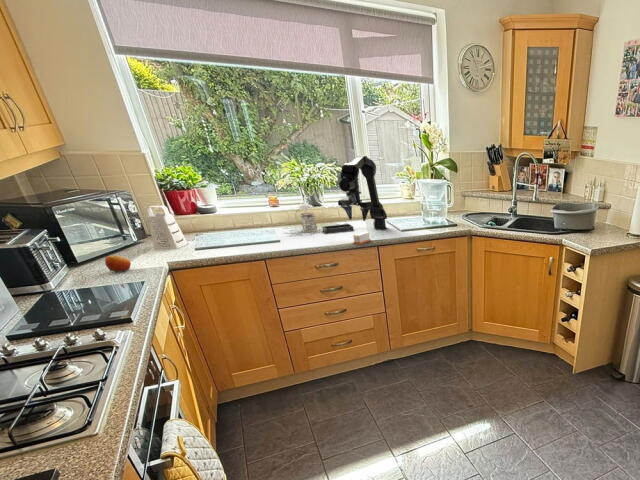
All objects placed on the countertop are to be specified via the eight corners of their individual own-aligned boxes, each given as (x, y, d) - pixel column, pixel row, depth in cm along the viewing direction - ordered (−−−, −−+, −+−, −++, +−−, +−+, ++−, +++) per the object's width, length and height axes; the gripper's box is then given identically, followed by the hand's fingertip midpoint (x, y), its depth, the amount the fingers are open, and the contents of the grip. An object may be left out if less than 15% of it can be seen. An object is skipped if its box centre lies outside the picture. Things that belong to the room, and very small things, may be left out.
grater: (177, 248, 211) (162, 208, 201) (154, 249, 209) (137, 208, 199) (187, 243, 220) (173, 204, 210) (166, 243, 218) (150, 204, 208)
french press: (321, 230, 251) (312, 187, 239) (300, 233, 245) (290, 188, 233) (317, 227, 258) (308, 185, 246) (297, 229, 253) (287, 186, 240)
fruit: (98, 270, 174) (102, 252, 175) (120, 274, 182) (124, 257, 182) (110, 272, 172) (114, 254, 172) (132, 277, 180) (136, 259, 180)
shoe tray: (349, 227, 260) (349, 223, 259) (353, 230, 254) (353, 226, 253) (322, 230, 252) (322, 226, 251) (326, 233, 246) (325, 229, 245)
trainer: (364, 239, 236) (363, 231, 233) (370, 240, 234) (369, 232, 232) (353, 243, 228) (352, 235, 226) (359, 244, 227) (358, 236, 224)
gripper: (328, 190, 214) (333, 220, 221) (357, 192, 209) (361, 223, 216) (343, 188, 224) (347, 218, 231) (371, 190, 218) (375, 220, 225)
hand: (357, 220), depth 225 cm, fingers open, 9 cm apart
